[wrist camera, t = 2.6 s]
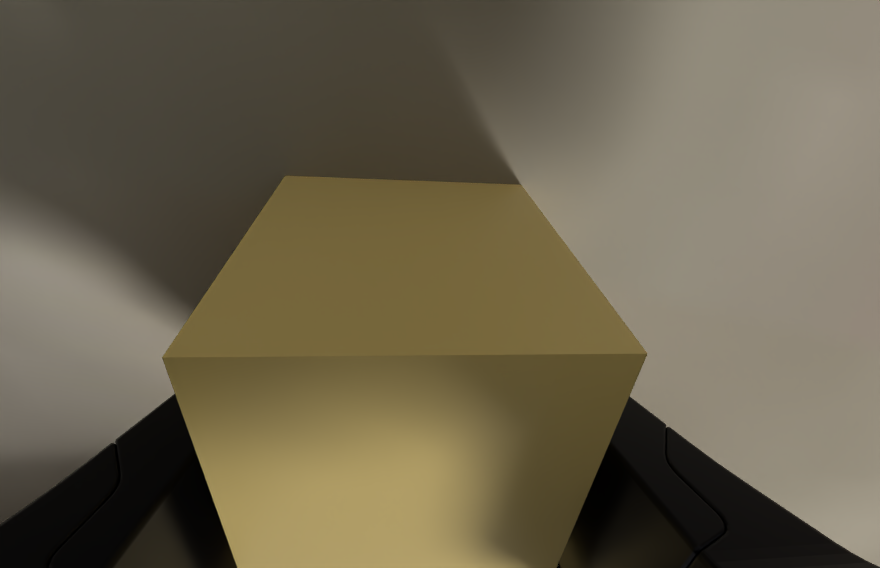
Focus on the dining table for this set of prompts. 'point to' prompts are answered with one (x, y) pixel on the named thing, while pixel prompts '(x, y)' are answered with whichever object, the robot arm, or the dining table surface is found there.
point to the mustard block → (401, 379)
